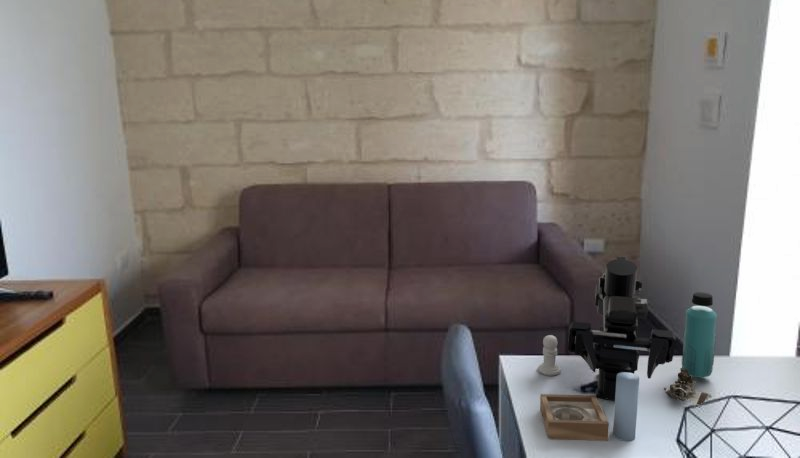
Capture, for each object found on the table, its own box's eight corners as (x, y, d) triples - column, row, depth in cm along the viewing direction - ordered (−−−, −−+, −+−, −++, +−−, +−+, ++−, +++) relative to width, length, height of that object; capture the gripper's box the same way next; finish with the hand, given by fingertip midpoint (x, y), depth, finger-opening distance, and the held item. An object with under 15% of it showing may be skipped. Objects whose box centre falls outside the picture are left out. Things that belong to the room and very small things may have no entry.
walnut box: (540, 409, 125) (540, 394, 124) (594, 410, 124) (595, 395, 123) (548, 438, 114) (549, 422, 113) (607, 440, 113) (608, 423, 112)
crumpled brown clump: (662, 408, 123) (648, 367, 132) (660, 428, 127) (647, 387, 135) (725, 404, 121) (706, 363, 130) (721, 424, 125) (703, 383, 133)
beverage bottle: (717, 383, 134) (726, 298, 130) (687, 384, 135) (695, 298, 130) (703, 370, 141) (711, 289, 137) (674, 371, 141) (681, 289, 137)
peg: (613, 428, 117) (616, 371, 115) (634, 431, 116) (639, 374, 114) (612, 438, 114) (616, 380, 111) (635, 442, 112) (639, 383, 110)
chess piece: (558, 378, 139) (559, 341, 137) (535, 373, 141) (536, 337, 139) (562, 368, 143) (564, 333, 141) (540, 364, 145) (541, 329, 144)
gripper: (571, 280, 118) (569, 333, 105) (675, 288, 113) (685, 345, 100) (569, 323, 124) (566, 379, 111) (667, 333, 118) (676, 392, 106)
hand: (621, 373), depth 107 cm, fingers open, 9 cm apart
